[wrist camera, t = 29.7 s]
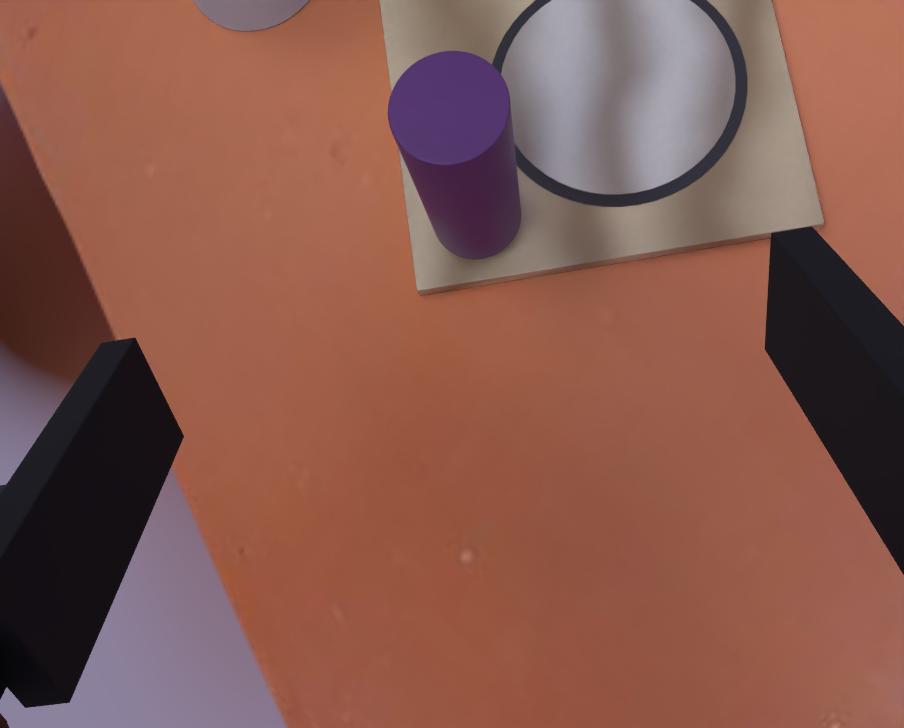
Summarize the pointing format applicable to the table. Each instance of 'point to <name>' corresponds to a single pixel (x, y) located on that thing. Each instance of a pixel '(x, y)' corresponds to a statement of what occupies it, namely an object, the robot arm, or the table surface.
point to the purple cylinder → (459, 150)
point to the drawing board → (620, 129)
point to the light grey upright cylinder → (249, 12)
